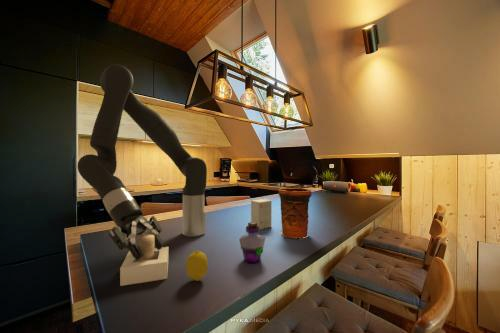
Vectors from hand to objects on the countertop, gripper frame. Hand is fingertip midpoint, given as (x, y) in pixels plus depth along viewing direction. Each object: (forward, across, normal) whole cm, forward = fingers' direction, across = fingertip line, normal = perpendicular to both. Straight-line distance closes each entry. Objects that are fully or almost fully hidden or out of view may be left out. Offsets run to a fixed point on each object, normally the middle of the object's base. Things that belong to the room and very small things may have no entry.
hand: (151, 252), depth 60 cm
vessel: (+26, +50, -17) cm, 59 cm away
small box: (+14, +54, -5) cm, 56 cm away
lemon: (+14, +2, -6) cm, 15 cm away
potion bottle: (+20, +19, -12) cm, 30 cm away
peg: (+3, 0, +5) cm, 6 cm away
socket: (+3, 0, +5) cm, 6 cm away
